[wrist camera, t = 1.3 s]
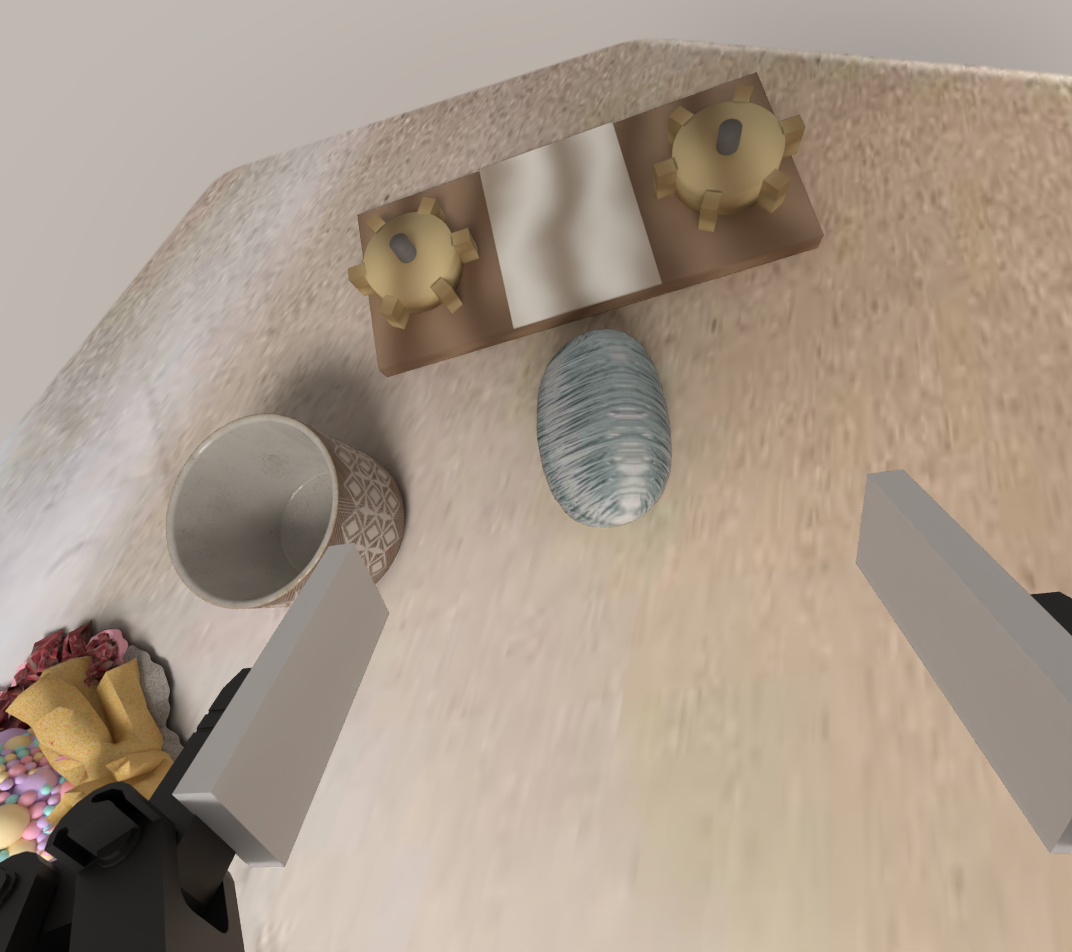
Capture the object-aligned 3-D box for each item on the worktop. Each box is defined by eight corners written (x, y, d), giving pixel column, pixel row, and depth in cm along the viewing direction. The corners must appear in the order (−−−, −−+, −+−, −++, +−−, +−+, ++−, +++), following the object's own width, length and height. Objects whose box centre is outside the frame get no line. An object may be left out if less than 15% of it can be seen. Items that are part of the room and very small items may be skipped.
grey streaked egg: (518, 343, 40) (559, 306, 30) (632, 350, 42) (703, 317, 33) (519, 522, 40) (559, 541, 31) (632, 517, 43) (702, 534, 33)
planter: (429, 467, 43) (362, 430, 33) (386, 622, 41) (301, 632, 31) (300, 441, 46) (203, 400, 36) (254, 584, 44) (138, 581, 34)
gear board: (758, 87, 44) (772, 18, 39) (822, 245, 40) (849, 193, 35) (361, 227, 50) (327, 184, 44) (383, 378, 45) (348, 350, 40)
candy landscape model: (108, 574, 48) (-15, 569, 39) (252, 779, 41) (142, 831, 32) (-80, 783, 47) (-248, 827, 38) (33, 1029, 40) (-141, 1152, 31)
